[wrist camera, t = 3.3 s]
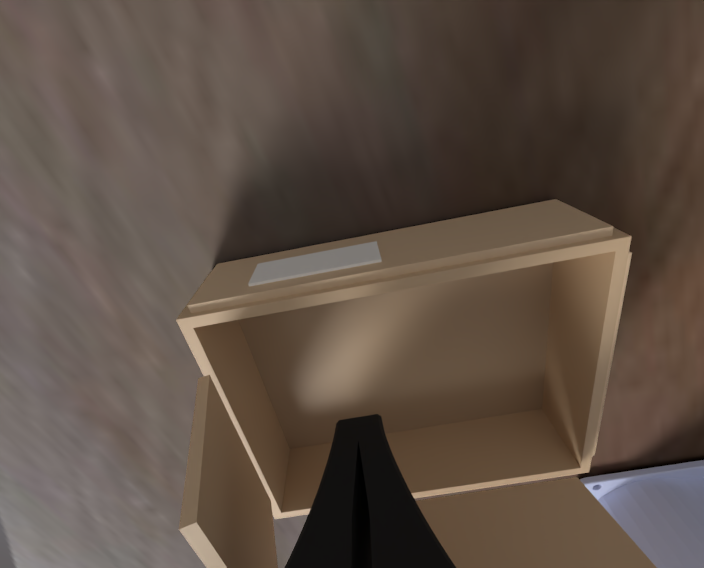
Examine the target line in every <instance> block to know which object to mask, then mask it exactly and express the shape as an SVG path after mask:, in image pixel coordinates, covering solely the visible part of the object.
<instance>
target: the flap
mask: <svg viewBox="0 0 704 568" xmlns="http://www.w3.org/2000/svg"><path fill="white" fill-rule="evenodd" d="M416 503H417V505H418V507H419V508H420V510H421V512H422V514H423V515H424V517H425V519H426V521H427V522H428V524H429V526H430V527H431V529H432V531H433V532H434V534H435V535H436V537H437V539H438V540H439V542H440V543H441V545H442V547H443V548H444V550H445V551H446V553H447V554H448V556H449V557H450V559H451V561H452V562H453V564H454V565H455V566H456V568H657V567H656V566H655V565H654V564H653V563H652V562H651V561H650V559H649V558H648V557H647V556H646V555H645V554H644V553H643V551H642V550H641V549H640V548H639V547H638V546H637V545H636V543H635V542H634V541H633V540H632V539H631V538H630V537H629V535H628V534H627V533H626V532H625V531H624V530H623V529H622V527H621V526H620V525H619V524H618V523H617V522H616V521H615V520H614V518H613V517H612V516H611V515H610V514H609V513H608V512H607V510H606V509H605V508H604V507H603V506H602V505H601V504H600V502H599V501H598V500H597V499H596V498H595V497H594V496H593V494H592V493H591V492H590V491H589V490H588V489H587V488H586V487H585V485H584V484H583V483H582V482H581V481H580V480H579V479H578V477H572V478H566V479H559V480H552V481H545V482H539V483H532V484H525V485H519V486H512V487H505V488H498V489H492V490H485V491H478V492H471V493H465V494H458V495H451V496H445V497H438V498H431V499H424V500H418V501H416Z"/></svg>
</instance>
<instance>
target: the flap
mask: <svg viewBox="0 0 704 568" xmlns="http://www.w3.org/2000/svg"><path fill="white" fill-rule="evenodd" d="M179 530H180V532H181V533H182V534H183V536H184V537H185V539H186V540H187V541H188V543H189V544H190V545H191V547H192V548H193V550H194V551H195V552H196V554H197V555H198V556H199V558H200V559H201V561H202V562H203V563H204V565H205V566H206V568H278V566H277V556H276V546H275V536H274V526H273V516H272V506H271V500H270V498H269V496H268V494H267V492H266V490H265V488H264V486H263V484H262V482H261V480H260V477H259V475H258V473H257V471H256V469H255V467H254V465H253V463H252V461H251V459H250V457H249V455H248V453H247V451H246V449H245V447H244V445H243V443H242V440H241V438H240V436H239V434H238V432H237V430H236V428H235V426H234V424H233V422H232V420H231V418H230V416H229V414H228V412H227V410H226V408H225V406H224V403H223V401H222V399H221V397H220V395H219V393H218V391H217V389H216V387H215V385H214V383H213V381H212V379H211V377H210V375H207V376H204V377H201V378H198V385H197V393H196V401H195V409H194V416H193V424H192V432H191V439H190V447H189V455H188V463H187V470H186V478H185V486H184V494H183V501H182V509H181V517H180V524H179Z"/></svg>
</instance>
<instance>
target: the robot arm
mask: <svg viewBox="0 0 704 568" xmlns="http://www.w3.org/2000/svg"><path fill="white" fill-rule="evenodd" d="M580 481H581V482H582V483H583V484H584V485H585V487H586V488H587V489H588V490H589V491H590V492H591V493H592V494H593V496H594V497H595V498H596V499H597V500H598V501H599V502H600V504H601V505H602V506H603V507H604V508H605V509H606V510H607V512H608V513H609V514H610V515H611V516H612V517H613V518H614V520H615V521H616V522H617V523H618V524H619V525H620V526H621V527H622V529H623V530H624V531H625V532H626V533H627V534H628V535H629V537H630V538H631V539H632V540H633V541H634V542H635V543H636V545H637V546H638V547H639V548H640V549H641V550H642V551H643V553H644V554H645V555H646V556H647V557H648V558H649V559H650V561H651V562H652V563H653V564H654V565H655V566H656V567H657V568H704V460H699V461H693V462H686V463H679V464H673V465H666V466H659V467H652V468H646V469H639V470H632V471H625V472H619V473H612V474H605V475H598V476H592V477H585V478H582V479H580ZM285 568H456V566H455V565H454V564H453V562H452V561H451V559H450V557H449V556H448V554H447V553H446V551H445V550H444V548H443V547H442V545H441V543H440V542H439V540H438V539H437V537H436V535H435V534H434V532H433V531H432V529H431V527H430V526H429V524H428V522H427V521H426V519H425V517H424V515H423V514H422V512H421V510H420V508H419V507H418V505H417V503H416V501H415V499H414V497H413V496H412V494H411V492H410V490H409V488H408V486H407V484H406V482H405V480H404V478H403V476H402V474H401V471H400V469H399V467H398V465H397V463H396V461H395V458H394V456H393V454H392V451H391V449H390V446H389V443H388V441H387V438H386V435H385V431H384V427H383V422H382V418H381V416H380V415H378V414H374V415H368V416H361V417H355V418H349V419H343V420H339V421H338V422H337V423H336V428H335V433H334V438H333V442H332V446H331V450H330V453H329V457H328V460H327V464H326V467H325V470H324V473H323V476H322V479H321V482H320V485H319V488H318V491H317V494H316V496H315V499H314V502H313V504H312V507H311V509H310V512H309V514H308V517H307V520H306V522H305V524H304V527H303V529H302V531H301V534H300V536H299V538H298V541H297V543H296V545H295V547H294V549H293V551H292V554H291V556H290V558H289V560H288V562H287V564H286V566H285Z"/></svg>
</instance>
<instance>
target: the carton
mask: <svg viewBox="0 0 704 568" xmlns="http://www.w3.org/2000/svg"><path fill="white" fill-rule="evenodd" d="M631 237H632V236H630V235H628V234H626V233H624V232H622V231H620V230H618V229H616V228H614V226H612V225H610V224H607V223H605V222H603V221H601V220H599V219H597V218H595V217H593V216H591V215H589V214H586V213H584V212H582V211H580V210H578V209H576V208H574V207H572V206H570V205H568V204H566V203H563V202H561V201H559V200H557V199H553V200H548V201H543V202H538V203H532V204H527V205H522V206H517V207H511V208H506V209H501V210H496V211H491V212H485V213H480V214H475V215H470V216H464V217H459V218H454V219H449V220H443V221H438V222H433V223H428V224H423V225H417V226H412V227H407V228H402V229H396V230H391V231H386V232H381V233H376V234H370V235H365V236H360V237H355V238H349V239H344V240H339V241H334V242H329V243H323V244H318V245H313V246H308V247H302V248H297V249H292V250H287V251H282V252H276V253H271V254H266V255H261V256H255V257H250V258H245V259H240V260H235V261H229V262H224V263H219V264H217V265H216V266H215V268H214V269H213V270H212V271H211V272H210V273H209V275H208V276H207V278H206V279H205V280H204V282H203V283H202V284H201V286H200V287H199V289H198V290H197V291H196V293H195V294H194V296H193V297H192V298H191V300H190V301H189V303H188V304H187V305H186V307H185V308H184V310H183V311H182V312H181V314H180V315H179V316H178V318H177V319H176V321H177V323H178V325H179V327H180V329H181V331H182V333H183V335H184V337H185V339H186V341H187V343H188V345H189V347H190V349H191V351H192V353H193V355H194V357H195V359H196V361H197V363H198V365H199V367H200V369H201V371H202V373H203V375H204V376H207V375H210V377H211V379H212V381H213V383H214V385H215V387H216V389H217V391H218V393H219V395H220V397H221V399H222V401H223V403H224V406H225V408H226V410H227V412H228V414H229V416H230V418H231V420H232V422H233V424H234V426H235V428H236V430H237V432H238V434H239V436H240V438H241V440H242V443H243V445H244V447H245V449H246V451H247V453H248V455H249V457H250V459H251V461H252V463H253V465H254V467H255V469H256V471H257V473H258V475H259V477H260V480H261V482H262V484H263V486H264V488H265V490H266V492H267V494H268V496H269V498H270V500H271V506H272V514H273V516H274V518H275V519H280V518H286V517H293V516H300V515H306V514H309V512H310V509H311V507H312V504H313V502H314V499H315V496H316V494H317V491H318V488H319V485H320V482H321V479H322V476H323V473H324V470H325V467H326V464H327V460H328V457H329V453H330V450H331V446H332V442H333V438H334V433H335V428H336V423H337V422H338V421H339V420H343V419H349V418H355V417H361V416H368V415H374V414H378V415H380V416H381V418H382V422H383V427H384V431H385V435H386V438H387V441H388V443H389V446H390V449H391V451H392V454H393V456H394V458H395V461H396V463H397V465H398V467H399V469H400V471H401V474H402V476H403V478H404V480H405V482H406V484H407V486H408V488H409V490H410V492H411V494H412V496H413V497H414V498H421V497H427V496H434V495H441V494H447V493H454V492H461V491H468V490H474V489H481V488H488V487H494V486H501V485H508V484H515V483H521V482H528V481H535V480H541V479H548V478H555V477H561V476H568V475H575V474H582V473H588V472H589V470H590V464H591V459H592V456H594V455H595V450H596V445H597V439H598V434H599V428H600V423H601V418H602V412H603V407H604V401H605V396H606V391H607V385H608V380H609V374H610V369H611V364H612V358H613V353H614V347H615V342H616V337H617V331H618V326H619V320H620V315H621V310H622V304H623V299H624V293H625V288H626V283H627V277H628V272H629V267H630V261H631V256H632V252H630V251H629V248H630V243H631Z"/></svg>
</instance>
